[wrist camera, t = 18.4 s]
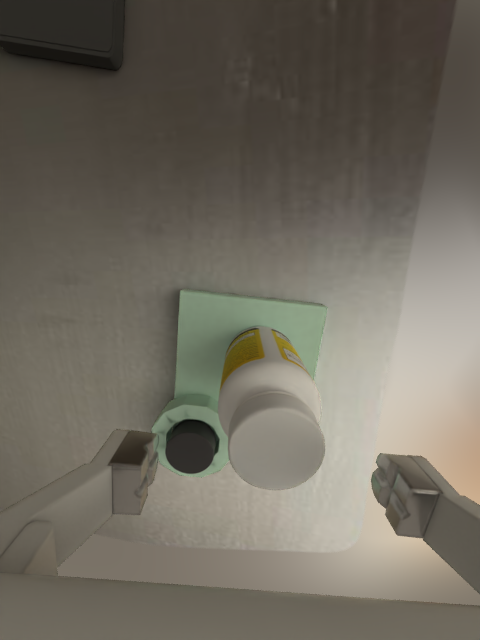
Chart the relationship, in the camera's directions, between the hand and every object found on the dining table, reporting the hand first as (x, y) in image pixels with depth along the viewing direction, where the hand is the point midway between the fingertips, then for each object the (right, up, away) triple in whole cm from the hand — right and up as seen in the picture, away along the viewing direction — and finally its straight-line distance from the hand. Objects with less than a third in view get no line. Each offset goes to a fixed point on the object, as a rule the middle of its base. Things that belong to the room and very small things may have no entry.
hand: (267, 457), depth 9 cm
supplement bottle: (+1, +2, +11) cm, 11 cm away
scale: (-1, 0, +12) cm, 12 cm away
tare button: (-5, -4, +11) cm, 13 cm away
